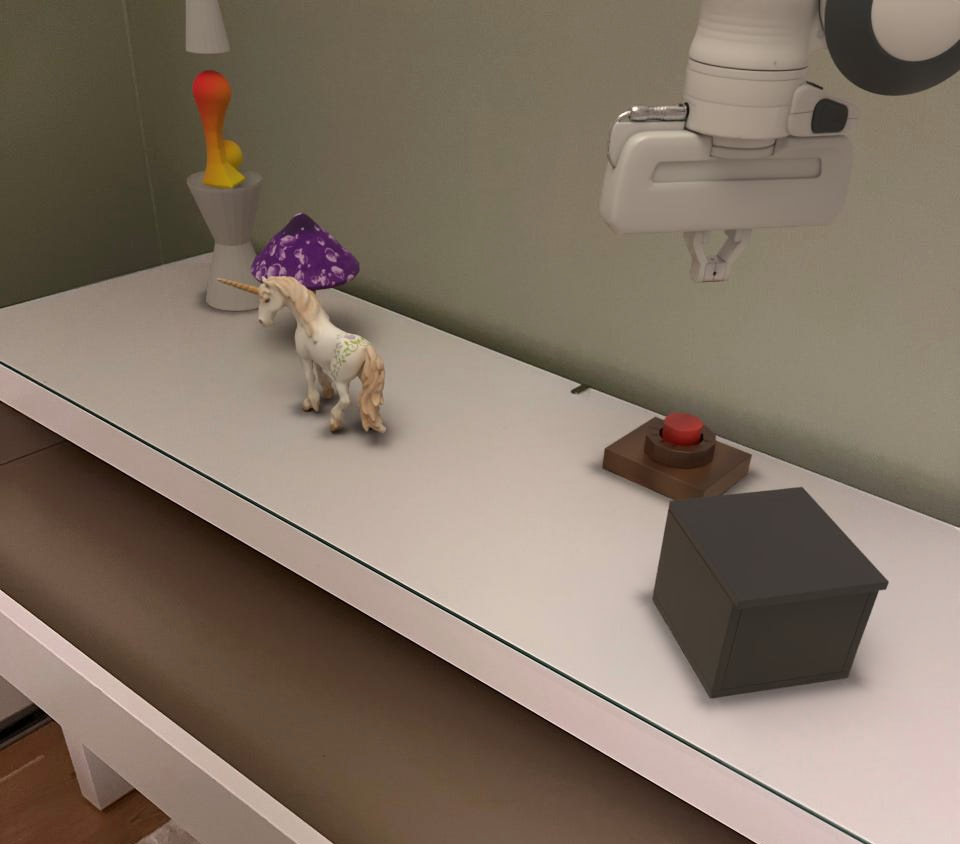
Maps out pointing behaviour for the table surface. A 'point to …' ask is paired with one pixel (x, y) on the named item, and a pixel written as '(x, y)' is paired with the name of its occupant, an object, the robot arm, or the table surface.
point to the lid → (775, 547)
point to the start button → (682, 429)
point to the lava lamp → (222, 170)
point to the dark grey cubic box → (752, 627)
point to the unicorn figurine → (324, 350)
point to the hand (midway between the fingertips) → (708, 280)
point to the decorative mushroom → (306, 256)
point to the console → (676, 462)
